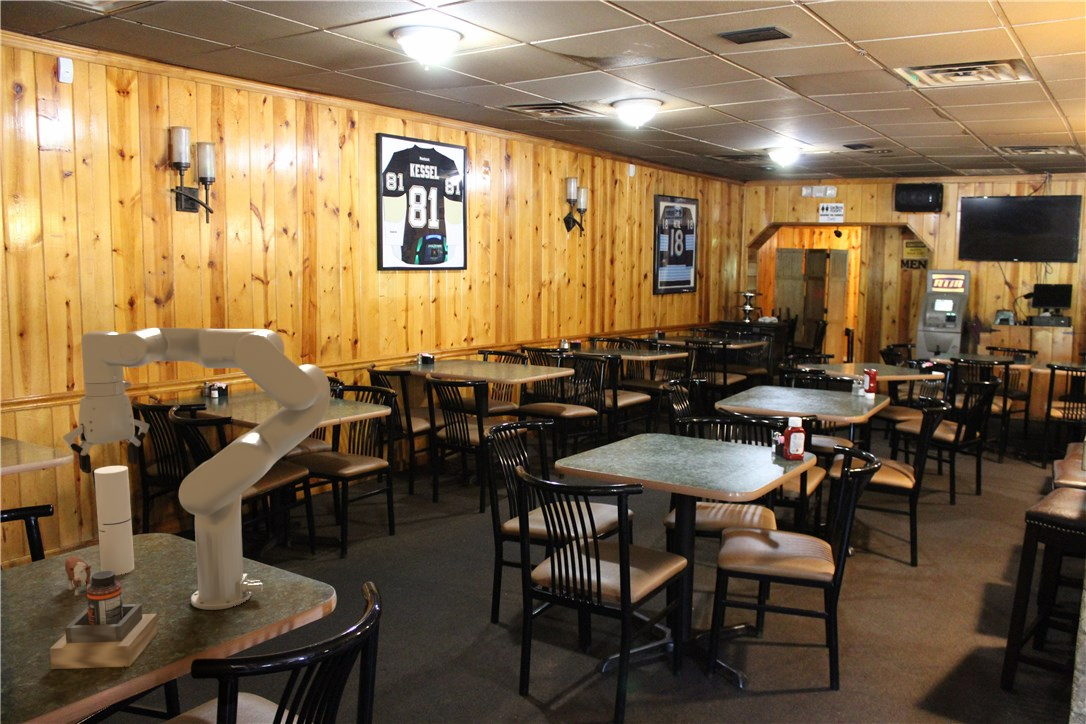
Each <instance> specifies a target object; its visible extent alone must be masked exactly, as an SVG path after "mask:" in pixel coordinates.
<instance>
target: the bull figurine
mask: <svg viewBox="0 0 1086 724" xmlns="http://www.w3.org/2000/svg"><path fill="white" fill-rule="evenodd" d="M64 567H65V569H64V570H65V572H66V574H67V579H68V583H69V584H68V590H69V591H73V590H75V591H74V597H79V596H80V589H79V588H80V587H79V586H81V587H84V585H85V587H86V590H87V589H88V587H89V586H90V585H91V584H90V583H91V582H90V581H91V579H90V577H91V576H92V575H91V573H92V571H91V569H92V566H91V565H89V564H88V563H86V562H85V561H84V560H83V559H82V558H80V557H79V556H76V555H70V557H67V559H66V561H65V563H64Z"/></svg>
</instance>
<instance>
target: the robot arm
mask: <svg viewBox="0 0 1086 724" xmlns="http://www.w3.org/2000/svg"><path fill="white" fill-rule="evenodd" d="M81 354H82V356H81V357H82V369H83V381H84V394H85V395H84V396H83V397H82V396H81V397H80V401H79V409H78V426H77V427H76V428H74V429H72V430H70V431H69V432H68V433H66V434H64V435H63V437H62V438H63V441H64V442H65V443H66V445H68V447H69V448H70V449H71V450H72V451H73V452H75V453H76V454H78V465H79V466H78V467H79V469H80V470H81V472H83V473H85V474H91V473H92V463H91V455H90V454H88V453H89V451H90V450H91V449H92V447H93V446H95V445H102V444H110V443H115V442H121V441H126V442H128V443H129V444H128V445H127V446H126V447H127V450H126V451H127V460H128V463H129V464H132V465H134V466H135V465H138V464H139V463H138V460H139V459H140V452H139V447H140V446H141V443H142V441H143V440H144V439H145V438H146V436H147V433H148V430H149V428H150V424H149V423H147V422H145V421H140V420H139V419H135V418H134V412H133V409H132V403H131V400H130V396H129V394H128V393H127V389H128V388H131V386H132V383H131V381H130V380H128V381H127V380H125V375H124V368H125V367H126V368H131V369H132V368H136V369H137V368H141V367H144V366H147V365H149V364H152V363H155V362H188V363H189V362H190V363H195V364H198V365H199V366H201V367H202V368H205V369H240V371H242V372H243V374H245V375H246V376H247V377H248V378H249V379H250V380H251V381H253V383H254V384H256V385H257V386H258V387H259V388H260V389H262V390H263V391H264V392H265V393H266V394H267V395H269V396H270V397H271V398H272V399H273V400H274V401H276V402H277V403H278V404H279V405H280V406H281V408H279V409H278V410H277V411H275V412H274V413H272V414H271V415H270V416H269V417H268V418H266V419H265V420H263V421H262V422H261V423H260V424H258V425H257V426H255V427H253V429H251V430H250V431H247V432H246V433H244V434H242V435H240V436H238V437H237V438H236V439H235V440H232V442H231V443H230V444H228V445H227V446H226V447H224V448H223V449H222V450H220V451H219V452H218V453H216V454H215V455H214V456H212V457H211V458H209V459H208V460H206V461H204V462H202V463H201V464H200V465H198V466H197V467H196V468H195V469H194V470H193V471H191V472H190V473H188V474H187V476H185V478H184V479H183V480H182V482H181V483H180V486H179V489H178V499H179V503H180V505H181V506H182V508H183V509H184V510H185V511H186V512H188V513H189V514H192V515H194V532H195V533H194V536H195V538H194V540H195V553H196V554H195V555H196V575H197V590H196V591H195V592H194V593H193V594H192V595H191V596H190V602H191V603H190V604H191V605H192V606H193V607H195V608H197V609H200V610H208V611H210V610H211V611H213V610H214V611H215V610H225V609H229V608H230V609H231V608H233V606H234V607H237V606H239V605H241V603H242V604H244V603H245V602H247V601H249V599H250V598H251V597H250V596H252V595H253V593H262V592H263V591H264V583H263V582H261V580H260V579H254V580H250V579H249V578H248V573H244V559H243V556H244V555H243V537H242V535H243V533H242V494H243V493H244V492H245V491H246V490H249V488H251V487H252V486H254V485H255V484H256V483H257V482H258V481H260V480H261V478H262V477H264V476H265V475H266V473H268V471H269V470H271V469H272V467H273V465H275V464H276V463H277V461H279V460H280V459H281V458H282V457H284V456H285V455H287V453H289V452H290V451H292V450H293V449H294V448H295V447H297V445H299V444H300V443H301V442H303V441H304V440H305V439H306V438H307V437H309V436H310V435H311V434H312V433H313V432H315V430H316V429H317V428H318V427H319V425H320V424H321V423H322V421H323V420H324V418H325V416H326V414H327V412H328V409H329V407H330V406H329V405H330V403H331V386H330V382H329V379H328V376H327V374H326V373H325V371H324V370H323V369H322V368H320V367H319V366H317V365H314V364H308V363H306V364H300V365H297V364H296V363H294V361H292V360H291V359H290V358H289V357H288V356H286V354H285V344H284V340H283V338H282V337H281V336H280V335H279V334H278V333H277V332H275V331H273V330H271V329H265V328H203V327H202V328H187V327H148V328H141V329H137V330H134V331H130V332H124V333H118V332H116V331H112V330H109V331H108V330H101V331H100V330H99V331H90V332H87V333H84V334H83V335H82V337H81ZM135 426H136V427H139V429H138V432H137V433H136V434H135V432H136V430H135V429H136V428H135ZM76 437H78V439H79V441H80V442H81V443H80V444H77V442H76V441H75V439H76ZM251 594H252V595H251ZM246 600H247V601H246ZM243 602H244V603H243ZM236 605H237V606H236Z"/></svg>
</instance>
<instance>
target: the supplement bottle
mask: <svg viewBox="0 0 1086 724" xmlns="http://www.w3.org/2000/svg"><path fill="white" fill-rule="evenodd" d="M90 581H91V582H90V583H91V584H90V586H89V587H88V589H87V588H86V602H87V603H86V605H87V607H88V619H89V625H106V624H118V623H119V622H120V621H121V620H122V619H123V605H124V604H123V595H122V594H123V593H122V592H123V591H122V584H121V583H120V582H119V581H118V580H116V576H115V572H113V571H101V570H100V571H97V572H94V573H93V574H92V575H91V580H90Z"/></svg>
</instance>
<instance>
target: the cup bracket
mask: <svg viewBox="0 0 1086 724" xmlns="http://www.w3.org/2000/svg"><path fill="white" fill-rule="evenodd" d="M122 605H123V619H122V620H121V621H120V622H119V623H118V624H106V625H89V619H88V606H87V607H86V608H85V609H84V610H83V611H81V613H80V614H78V615H77V616H76V618H74V619H73V620H72V621H71V622H70V623H68V625H67V626H66V627H65V628H64V629H65V630H64V631H65V634H64V635H63V636H61V637H60V638H59V639H58V640H57V641H56V642H55V643H54V644H53V645H52V646H51V647H50V648H49V655H50V656H49V657H50V667H51V670H58V669H59V670H60V669H62V670H63V669H66V670H67V669H85V668H86V669H87V668H88V669H91V668H115V667H116V668H120V667H121V668H123V667H124V666H125V667H131V665H132V664H133V663H134V662H135V661H136V659H137V658H138V657H139V656H140V655H141V653H142V652H143V651H144V650H145V649H146V647H147V646H148V645H149V644H150V643H151V641H152V640H154V638H155V637H156V635H157V634H158V633H159V631H158V630H159V629H158V628H159V627H158V615H157V613H143V604H142V603H134V604H133V603H132V604H131V603H130V604H129V603H128V604H122Z"/></svg>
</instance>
